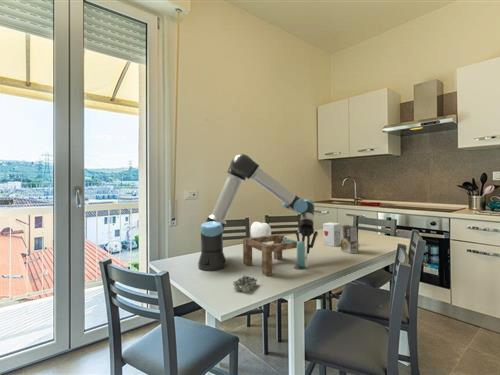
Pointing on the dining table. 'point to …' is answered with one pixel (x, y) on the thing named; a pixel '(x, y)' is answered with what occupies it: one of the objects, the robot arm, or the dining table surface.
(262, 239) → the stool frame
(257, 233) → the decorative heart
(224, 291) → the dining table surface
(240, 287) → the grey knobbly lump
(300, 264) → the folding leg
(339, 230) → the supplement box
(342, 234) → the coffee box
